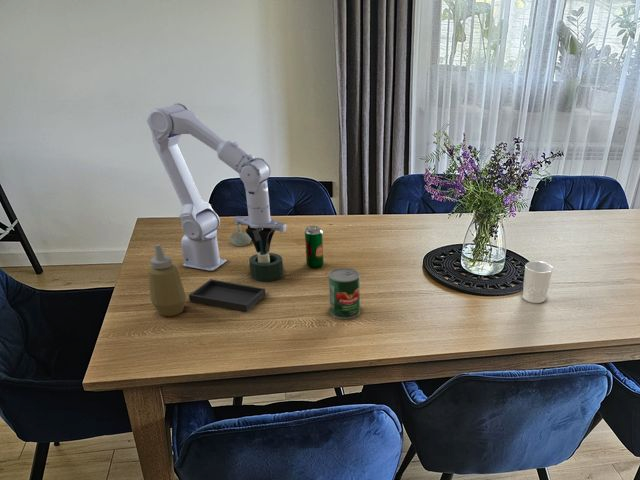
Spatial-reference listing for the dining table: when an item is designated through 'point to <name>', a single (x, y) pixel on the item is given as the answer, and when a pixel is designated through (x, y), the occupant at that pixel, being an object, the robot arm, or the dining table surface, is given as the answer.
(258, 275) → the jar
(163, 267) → the squeeze bottle
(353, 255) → the dining table surface
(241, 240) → the soupspoon
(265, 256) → the teal peg on base
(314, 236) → the soda can
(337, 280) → the canned tomato
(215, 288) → the tray
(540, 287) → the white cup
